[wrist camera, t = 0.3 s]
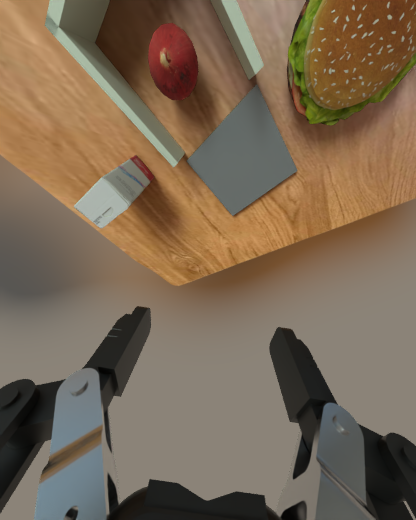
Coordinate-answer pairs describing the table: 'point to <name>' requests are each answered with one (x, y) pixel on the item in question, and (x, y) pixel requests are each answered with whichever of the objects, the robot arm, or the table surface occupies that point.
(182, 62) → the onion
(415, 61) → the food
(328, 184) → the table surface
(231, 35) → the cubby
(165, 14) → the table surface
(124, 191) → the ink box
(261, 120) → the tile
